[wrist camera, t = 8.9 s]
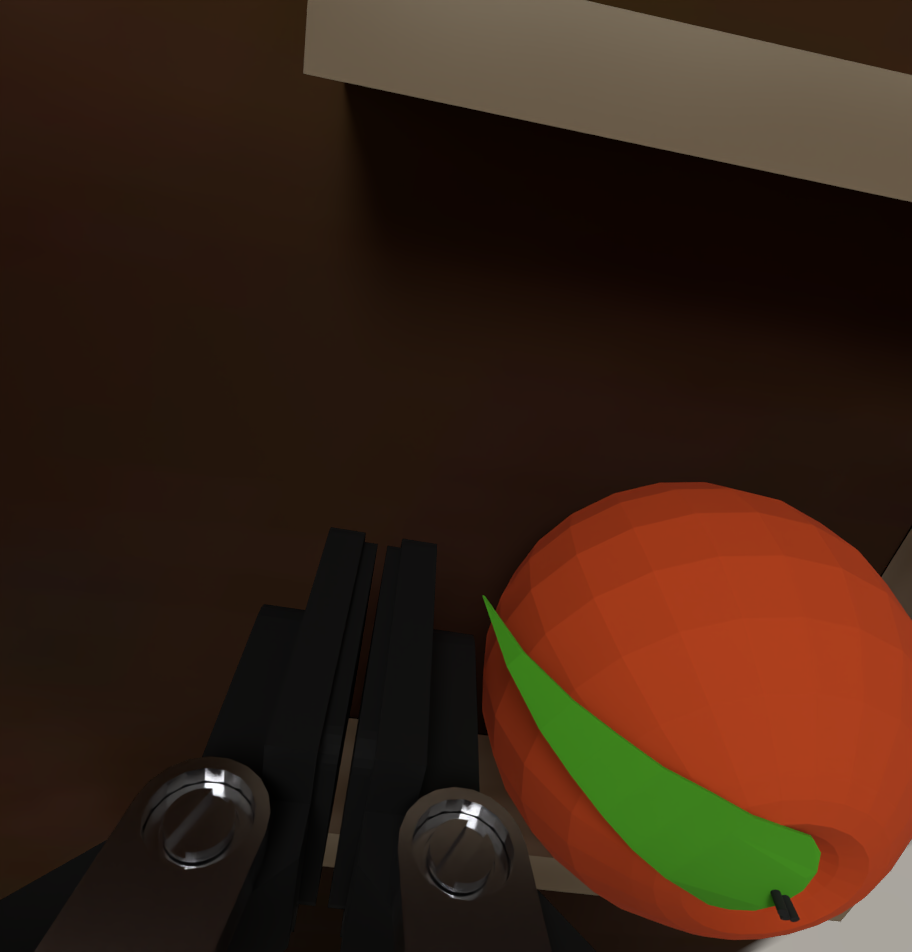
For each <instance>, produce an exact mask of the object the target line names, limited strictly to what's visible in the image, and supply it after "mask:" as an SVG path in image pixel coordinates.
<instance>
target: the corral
mask: <svg viewBox="0 0 912 952" xmlns="http://www.w3.org/2000/svg"><path fill="white" fill-rule="evenodd" d="M303 73H304V74H308V75H313V76H318V77H322V78H327V79H332V80H337V81H341V82H346V83H351V84H356V85H360V86H365V87H370V88H375V89H379V90H384V91H389V92H393V93H398V94H403V95H408V96H412V97H417V98H422V99H427V100H431V101H436V102H441V103H446V104H450V105H455V106H460V107H464V108H469V109H474V110H479V111H483V112H488V113H493V114H498V115H502V116H507V117H512V118H517V119H521V120H526V121H531V122H535V123H540V124H545V125H550V126H554V127H559V128H564V129H569V130H573V131H578V132H583V133H587V134H592V135H597V136H602V137H606V138H611V139H616V140H621V141H625V142H630V143H635V144H640V145H644V146H649V147H654V148H658V149H663V150H668V151H673V152H677V153H682V154H687V155H692V156H696V157H701V158H706V159H711V160H715V161H720V162H725V163H729V164H734V165H739V166H744V167H748V168H753V169H758V170H763V171H767V172H772V173H777V174H782V175H786V176H791V177H796V178H800V179H805V180H810V181H815V182H819V183H824V184H829V185H834V186H838V187H843V188H848V189H853V190H857V191H862V192H867V193H871V194H876V195H881V196H886V197H890V198H895V199H900V200H905V201H909V202H912V75H908V74H904V73H899V72H895V71H890V70H886V69H882V68H877V67H873V66H869V65H864V64H860V63H856V62H851V61H847V60H843V59H838V58H834V57H829V56H825V55H821V54H816V53H812V52H808V51H803V50H799V49H795V48H790V47H786V46H781V45H777V44H773V43H768V42H764V41H760V40H755V39H751V38H747V37H742V36H738V35H734V34H729V33H725V32H720V31H716V30H712V29H707V28H703V27H699V26H694V25H690V24H686V23H681V22H677V21H673V20H668V19H664V18H659V17H655V16H651V15H646V14H642V13H638V12H633V11H629V10H625V9H620V8H616V7H612V6H607V5H603V4H598V3H594V2H590V1H585V0H308V7H307V23H306V39H305V55H304V70H303ZM881 578H882V579H883V580H884V581H885V583H886V584H887V585H888V587H889V588H890V589H891V591H892V592H893V594H894V595H895V597H896V598H897V600H898V601H899V603H900V604H901V605H902V607H903V608H904V610H905V611H906V613H907V614H908V616H909V617H910V619H911V620H912V529H911V530H910V532H909V533H908V535H907V537H906V538H905V540H904V541H903V543H902V545H901V546H900V548H899V550H898V551H897V553H896V554H895V556H894V558H893V559H892V561H891V562H890V564H889V566H888V567H887V569H886V570H885V572H884V574H883V575H882V577H881ZM357 724H358V719H353V718H349V720H348V726H347V731H346V737H345V743H344V748H343V754H342V759H341V765H340V771H339V776H338V782H337V787H336V793H335V799H334V804H333V810H332V815H331V821H330V826H329V832H328V838H327V843H326V849H325V854H324V860H323V866H327V867H334V866H335V860H336V854H337V848H338V841H339V835H340V829H341V823H342V817H343V810H344V804H345V798H346V792H347V786H348V780H349V773H350V767H351V761H352V755H353V749H354V743H355V736H356V730H357ZM478 753H479V784H480V793H482V794H484V795H487V796H489V797H491V798H492V799H494V800H495V801H496V802H498V803H499V804H500V805H501V806H503V807H504V808H505V809H506V810H507V811H508V812H509V814H510V815H511V816H512V818H513V819H514V820H515V822H516V823H517V824H518V825H519V828H520V830H521V833H522V835H523V838H524V840H525V843H526V846H527V850H528V855H529V859H530V863H531V867H532V871H533V875H534V880H535V884H536V888H537V889H542V890H551V891H560V892H570V893H579V894H588V895H598V894H596V893H595V892H593V891H592V890H591V889H590V888H589V887H587V886H586V885H585V884H584V883H583V882H581V881H580V880H579V879H578V878H577V877H576V876H574V875H573V874H572V873H571V872H570V871H569V870H567V869H566V868H565V867H564V866H563V865H561V864H560V863H559V862H558V861H557V860H556V859H554V857H553V856H552V855H551V854H550V853H549V852H548V850H547V849H546V848H545V847H544V846H543V845H542V843H541V842H540V841H539V840H538V839H537V837H536V836H535V835H534V834H533V833H532V831H531V830H530V828H529V827H528V825H527V823H526V822H525V820H524V819H523V817H522V815H521V814H520V812H519V810H518V809H517V807H516V806H515V804H514V802H513V801H512V799H511V798H510V796H509V794H508V793H507V791H506V790H505V787H504V784H503V781H502V778H501V775H500V773H499V770H498V767H497V764H496V761H495V758H494V756H493V752H492V748H491V744H490V740H489V736H486V735H479V734H478ZM598 896H599V895H598ZM853 906H854V905H853ZM853 906H852V907H853ZM852 907H851V908H852ZM851 908H849V909H848V910H846V911H845V912H843V913H842V914H840V915H838V916H835V917H833V918H831V919H829V920H831V921H841V920H842V919H843V918H844V917H845V915H846V914H847V913H848V912H849V911H850V909H851Z"/></svg>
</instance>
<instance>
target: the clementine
mask: <svg viewBox="0 0 912 952" xmlns="http://www.w3.org/2000/svg"><path fill="white" fill-rule="evenodd" d="M482 596H483V599H484V602H485V605H486V608H487V610H488V613H489V616H490V619H491V624H490V627H489V630H488V632H487V636H486V647H485V658H484V670H483V699H482V713H483V717H484V720H485V724H486V728H487V732H488V736H489V740H490V744H491V748H492V752H493V756H494V758H495V761H496V764H497V767H498V770H499V773H500V775H501V778H502V781H503V784H504V787H505V790H506V791H507V793H508V794H509V796H510V798H511V799H512V801H513V802H514V804H515V806H516V807H517V809H518V810H519V812H520V814H521V815H522V817H523V819H524V820H525V822H526V823H527V825H528V827H529V828H530V830H531V831H532V833H533V834H534V835H535V836H536V837H537V839H538V840H539V841H540V842H541V843H542V845H543V846H544V847H545V848H546V849H547V850H548V852H549V853H550V854H551V855H552V856H553V857H554V859H556V860H557V861H558V862H559V863H560V864H561V865H563V866H564V867H565V868H566V869H567V870H569V871H570V872H571V873H572V874H573V875H574V876H576V877H577V878H578V879H579V880H580V881H581V882H583V883H584V884H585V885H586V886H587V887H589V888H590V889H591V890H592V891H593V892H595V893H596V894H598V895H599V896H601V897H603V898H604V899H606V900H608V901H609V902H611V903H612V904H614V905H616V906H617V907H619V908H620V909H623V910H625V911H628V912H631V913H634V914H636V915H639V916H642V917H644V918H647V919H650V920H652V921H655V922H658V923H660V924H663V925H666V926H669V927H672V928H675V929H678V930H681V931H684V932H687V933H690V934H694V935H700V936H705V937H712V938H721V939H729V940H746V939H763V938H769V937H775V936H781V935H787V934H790V933H794V932H797V931H800V930H804V929H807V928H810V927H813V926H816V925H819V924H821V923H823V922H825V921H827V920H829V919H831V918H833V917H835V916H838V915H840V914H842V913H843V912H845V911H846V910H848V909H849V908H851V907H852V906H853V905H855V904H856V903H858V902H859V901H861V900H862V899H863V898H865V897H866V896H867V895H868V894H869V893H870V892H871V891H872V890H873V889H874V888H875V886H877V884H878V883H879V882H880V881H881V880H882V879H883V878H884V877H885V876H886V875H887V874H888V873H889V872H890V871H891V869H892V868H893V866H894V865H895V863H896V862H897V860H898V859H899V857H900V856H901V854H902V853H903V851H904V850H905V848H906V847H907V845H908V844H909V842H910V841H911V839H912V620H911V619H910V617H909V616H908V614H907V613H906V611H905V610H904V608H903V607H902V605H901V604H900V603H899V601H898V600H897V598H896V597H895V595H894V594H893V592H892V591H891V589H890V588H889V587H888V585H887V584H886V583H885V581H884V580H883V579H882V578H881V577H880V576H879V574H878V573H877V572H876V571H875V570H874V568H873V567H872V566H871V565H870V564H869V563H868V561H867V560H866V559H865V558H864V557H863V556H862V554H861V553H860V552H859V551H858V550H857V549H856V548H854V547H853V546H851V545H850V544H849V543H847V542H846V541H845V540H843V539H842V538H840V537H839V536H838V535H836V534H835V533H834V532H832V531H831V530H829V529H828V528H827V527H825V526H824V525H823V524H821V523H820V522H818V521H816V520H814V519H812V518H811V517H809V516H807V515H805V514H804V513H802V512H800V511H798V510H797V509H795V508H793V507H791V506H790V505H788V504H786V503H784V502H783V501H781V500H777V499H773V498H769V497H765V496H761V495H757V494H753V493H749V492H745V491H740V490H736V489H732V488H728V487H723V486H719V485H715V484H711V483H707V482H678V483H656V484H652V485H648V486H644V487H639V488H635V489H631V490H627V491H623V492H619V493H614V494H612V495H610V496H608V497H606V498H604V499H602V500H600V501H597V502H595V503H593V504H591V505H589V506H587V507H585V508H583V509H581V510H579V511H577V512H575V513H573V514H571V515H570V516H569V517H567V518H566V519H565V520H564V521H562V522H561V523H560V524H559V525H557V526H556V527H555V528H554V529H553V530H551V531H550V532H549V533H548V534H546V535H545V536H544V537H543V538H541V539H540V540H539V541H538V542H537V543H536V545H535V546H534V547H533V549H532V550H531V551H530V552H529V554H528V555H527V556H526V558H525V559H524V560H523V562H522V563H521V564H520V566H519V567H518V568H517V570H516V571H515V572H514V574H513V576H512V578H511V579H510V581H509V583H508V585H507V587H506V588H505V590H504V592H503V594H502V596H501V598H500V601H499V603H498V606H497V609H496V611H495V610H494V608H493V607H492V605H491V604H490V603H489V601H488V600H487V598H486V597H485V596H484V595H482Z"/></svg>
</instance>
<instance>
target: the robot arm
mask: <svg viewBox="0 0 912 952" xmlns="http://www.w3.org/2000/svg"><path fill="white" fill-rule="evenodd" d="M365 535H366V533H364V532H357V531H351V530H345V529H338V528H332V527H331V528H330V531H329V534H328V537H327V541H326V544H325V547H324V550H323V554H322V557H321V560H320V564H319V567H318V570H317V574H316V577H315V580H314V583H313V587H312V590H311V593H310V597H309V600H308V603H307V607H306V610H300V609H293V608H286V607H280V606H273V605H266V604H264V605H263V606H262V607H261V610H260V612H259V614H258V616H257V619H256V621H255V624H254V626H253V629H252V631H251V634H250V637H249V639H248V642H247V644H246V647H245V649H244V652H243V654H242V657H241V659H240V662H239V664H238V667H237V670H236V672H235V675H234V677H233V680H232V682H231V685H230V687H229V690H228V692H227V695H226V698H225V700H224V703H223V705H222V708H221V710H220V713H219V715H218V718H217V720H216V723H215V725H214V728H213V731H212V733H211V736H210V738H209V741H208V743H207V746H206V748H205V751H204V753H203V756H202V758H194V759H188V760H186V761H183V762H181V763H178V764H176V765H173V766H171V767H168V768H167V769H165V770H164V771H162V772H161V773H160V774H158V775H157V776H155V777H154V778H152V779H151V780H150V781H149V782H148V783H147V784H146V785H145V786H144V787H143V789H142V790H141V791H140V792H139V793H138V794H137V796H136V797H135V798H134V800H133V801H132V803H131V804H130V806H129V807H128V809H127V810H126V812H125V813H124V815H123V816H122V818H121V819H120V821H119V823H118V824H117V826H116V827H115V829H114V830H113V832H112V833H111V835H110V836H109V838H108V839H107V840H106V841H104V842H102V843H101V844H99V845H97V846H95V847H93V848H92V849H90V850H88V851H86V852H85V853H83V854H81V855H79V856H78V857H76V858H74V859H72V860H71V861H69V862H67V863H65V864H63V865H62V866H60V867H58V868H56V869H55V870H53V871H51V872H49V873H48V874H46V875H44V876H42V877H41V878H39V879H37V880H35V881H33V882H32V883H30V884H28V885H26V886H25V887H23V888H21V889H19V890H18V891H16V892H14V893H12V894H10V895H9V896H7V897H5V898H3V899H2V900H0V952H283V951H284V950H285V949H287V948H288V943H289V939H290V934H291V932H294V927H295V922H296V917H297V912H298V907H299V904H302V905H312V906H315V904H316V899H317V894H318V888H319V882H320V877H321V871H322V866H323V860H324V854H325V849H326V843H327V838H328V832H329V826H330V821H331V815H332V810H333V804H334V799H335V793H336V787H337V782H338V776H339V771H340V765H341V759H342V754H343V748H344V743H345V737H346V731H347V726H348V720H349V715H350V709H351V703H352V698H353V692H354V686H355V681H356V675H357V669H358V663H359V656H360V650H361V644H362V638H363V632H364V626H365V620H366V613H367V607H368V601H369V595H370V589H371V583H372V576H373V570H374V564H375V558H376V552H377V545H378V544H374V543H367V542H365ZM436 557H437V544H432V543H426V542H420V541H414V540H407V539H403V540H402V544H401V548H398V547H392V546H388V547H387V552H386V558H385V564H384V570H383V576H382V582H381V587H380V593H379V599H378V605H377V611H376V617H375V622H374V628H373V634H372V640H371V646H370V652H369V657H368V663H367V669H366V675H365V681H364V687H363V693H362V699H361V705H360V712H359V718H358V724H357V730H356V736H355V743H354V749H353V755H352V761H351V767H350V773H349V780H348V786H347V792H346V798H345V804H344V810H343V817H342V823H341V829H340V835H339V841H338V848H337V854H336V860H335V866H334V872H333V878H332V885H331V891H330V897H329V903H328V908H337V909H344V913H343V920H342V927H341V934H340V937H342V943H341V950H340V952H596V951H595V950H594V949H593V948H592V947H591V945H590V944H589V943H588V942H587V941H586V940H585V939H584V938H583V937H582V936H581V935H580V934H579V933H578V932H577V931H576V930H575V929H574V928H573V927H572V925H571V924H570V923H569V922H568V921H567V920H566V919H565V918H564V917H563V916H562V915H561V914H560V913H559V912H558V911H557V910H556V909H555V908H554V906H553V905H552V904H551V903H550V902H549V901H548V900H547V899H546V898H545V897H544V896H543V895H542V894H541V893H540V892H539V891H538V890H537V888H536V884H535V880H534V875H533V871H532V867H531V863H530V859H529V855H528V850H527V846H526V843H525V840H524V838H523V835H522V833H521V830H520V828H519V825H518V824H517V823H516V822H515V820H514V819H513V818H512V816H511V815H510V814H509V812H508V811H507V810H506V809H505V808H504V807H503V806H501V805H500V804H499V803H498V802H496V801H495V800H494V799H492V798H491V797H489V796H487V795H484V794H482V793H480V784H479V753H478V722H477V691H476V660H475V640H474V637H473V635H469V634H462V633H456V632H449V631H442V630H435V629H433V621H434V600H435V578H436Z"/></svg>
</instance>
